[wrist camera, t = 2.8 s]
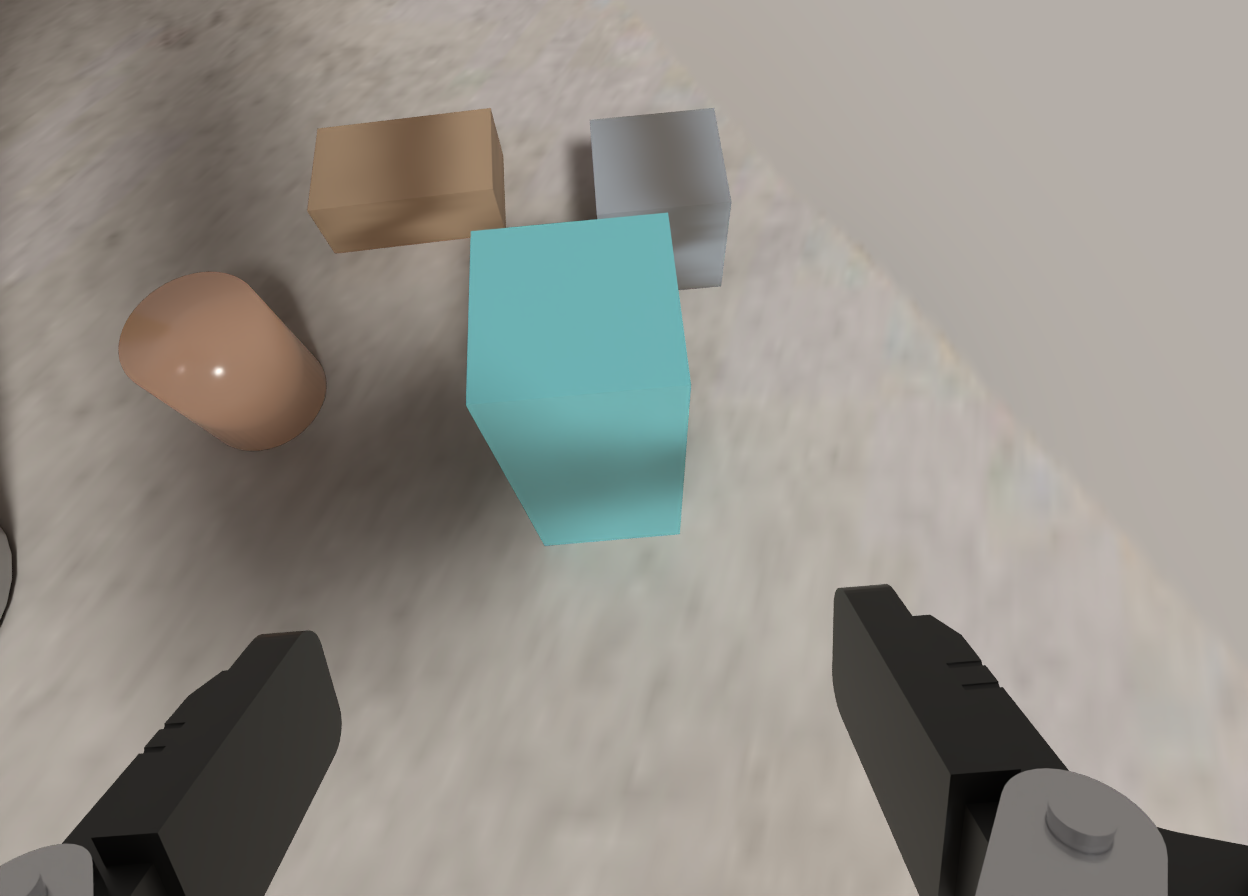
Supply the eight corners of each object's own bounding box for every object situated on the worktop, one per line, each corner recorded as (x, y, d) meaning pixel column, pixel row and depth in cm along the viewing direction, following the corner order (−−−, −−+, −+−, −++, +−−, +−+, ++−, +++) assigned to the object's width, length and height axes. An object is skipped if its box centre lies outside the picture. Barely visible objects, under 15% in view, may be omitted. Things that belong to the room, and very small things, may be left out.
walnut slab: (337, 258, 32) (307, 210, 29) (345, 179, 34) (317, 128, 31) (507, 237, 32) (492, 188, 29) (504, 160, 34) (490, 108, 31)
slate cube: (606, 298, 30) (596, 214, 25) (600, 211, 32) (589, 120, 27) (721, 287, 30) (731, 201, 25) (706, 201, 32) (713, 108, 27)
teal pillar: (544, 545, 25) (466, 405, 15) (541, 425, 27) (470, 231, 17) (679, 534, 25) (690, 384, 15) (666, 414, 27) (667, 212, 17)
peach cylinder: (198, 457, 27) (105, 400, 23) (216, 351, 29) (133, 279, 25) (321, 444, 27) (251, 384, 23) (330, 338, 29) (268, 264, 25)
